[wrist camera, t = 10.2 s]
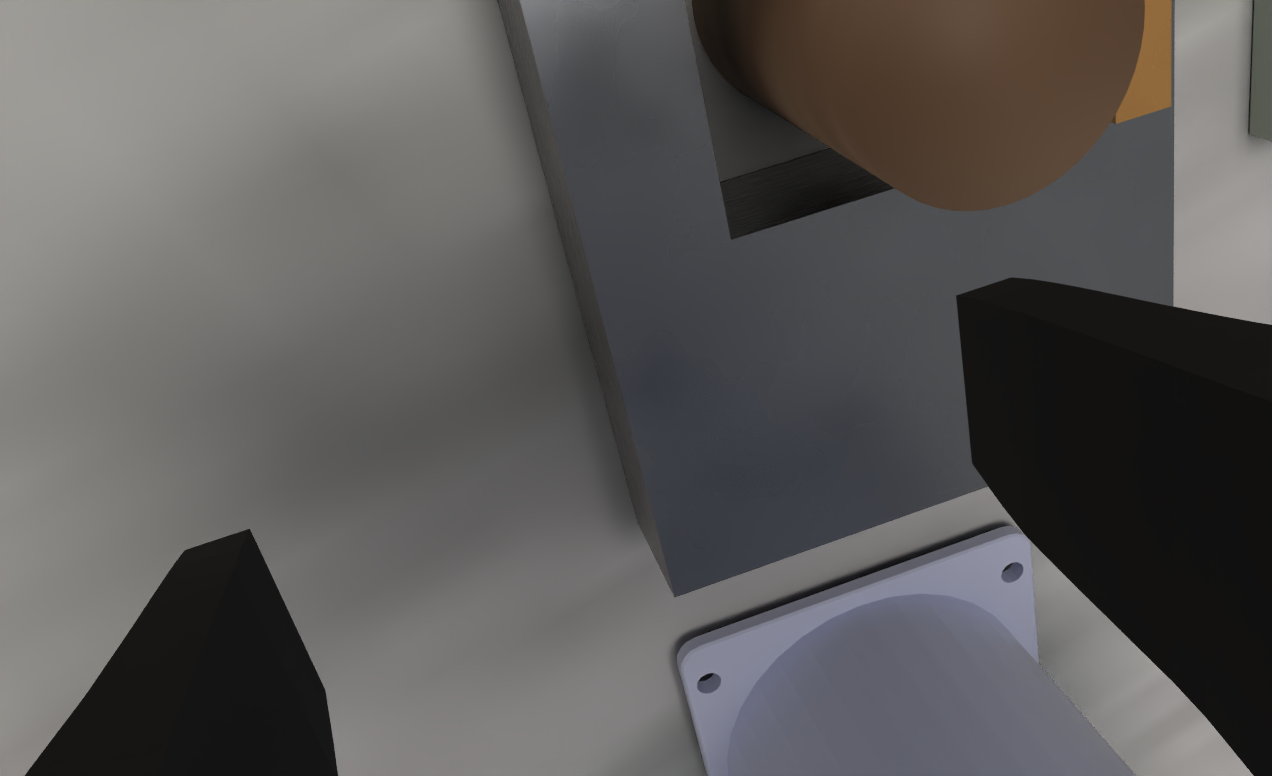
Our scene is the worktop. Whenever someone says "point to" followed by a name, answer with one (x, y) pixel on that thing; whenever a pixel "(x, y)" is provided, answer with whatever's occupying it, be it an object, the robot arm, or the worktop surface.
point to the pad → (1262, 71)
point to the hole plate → (796, 288)
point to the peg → (936, 84)
